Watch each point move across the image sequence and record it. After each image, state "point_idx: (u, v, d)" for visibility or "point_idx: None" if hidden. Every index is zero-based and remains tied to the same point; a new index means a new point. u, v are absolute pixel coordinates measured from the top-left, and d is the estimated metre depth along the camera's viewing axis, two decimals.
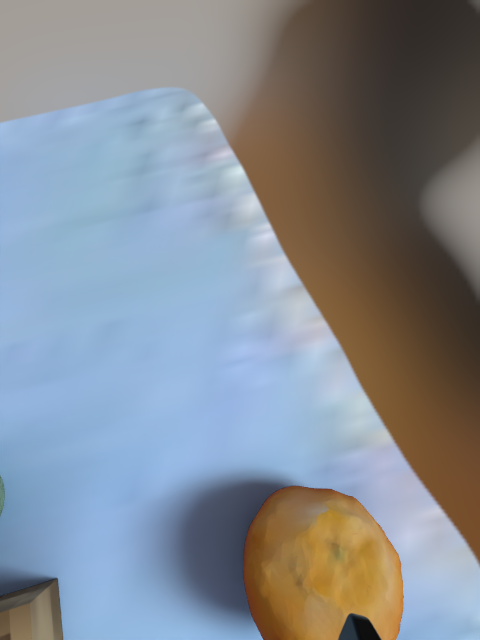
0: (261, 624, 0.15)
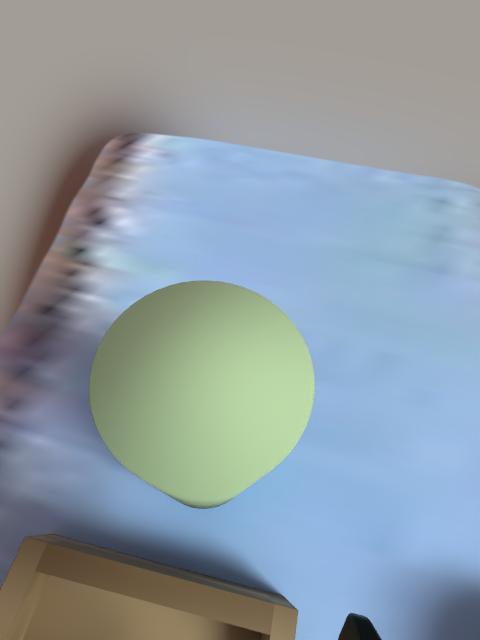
0: None
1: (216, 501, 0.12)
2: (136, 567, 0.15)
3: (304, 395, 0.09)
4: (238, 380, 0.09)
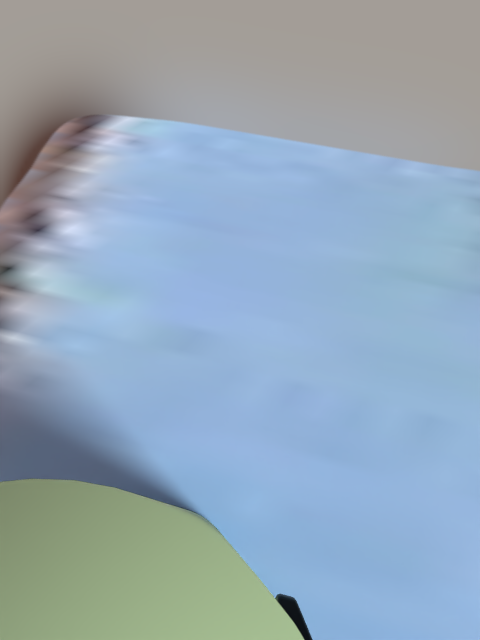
0: None
1: None
2: None
3: None
4: None
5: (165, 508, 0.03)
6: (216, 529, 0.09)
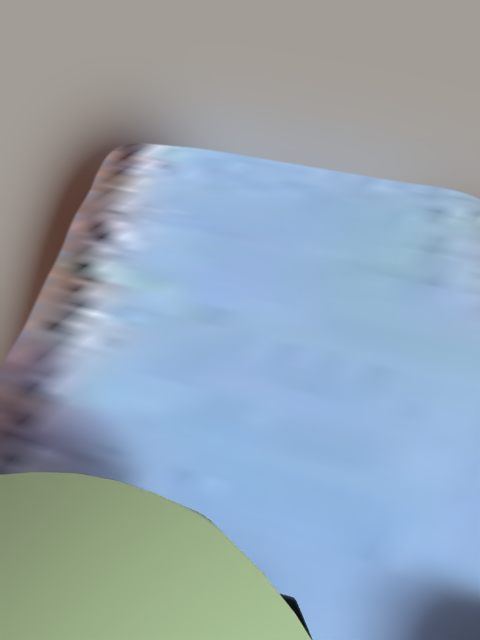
0: None
1: None
2: None
3: None
4: None
5: (167, 501, 0.03)
6: (216, 527, 0.09)
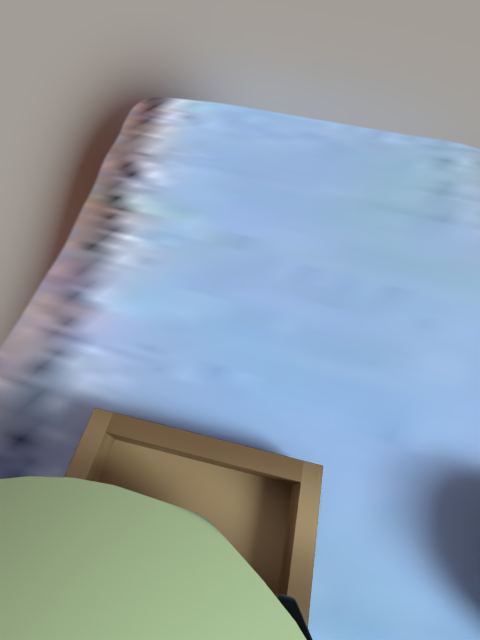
0: None
1: None
2: (188, 432, 0.17)
3: None
4: None
5: (165, 506, 0.03)
6: None
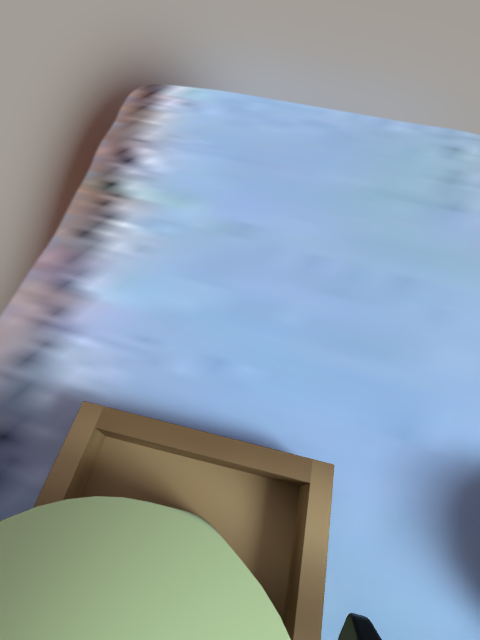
0: None
1: None
2: (185, 427, 0.16)
3: None
4: None
5: (181, 515, 0.05)
6: None
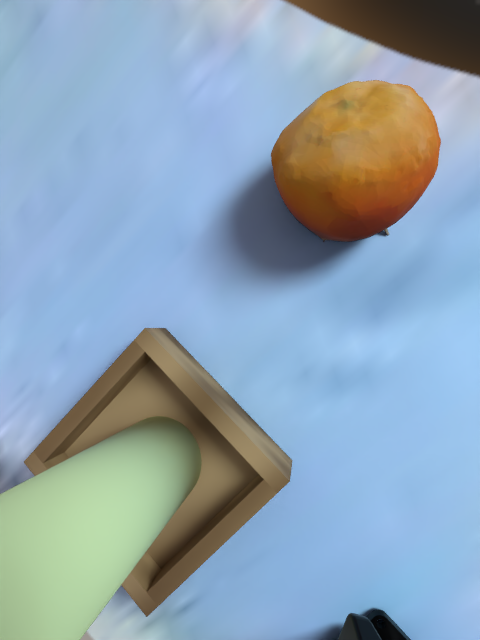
0: (312, 207, 0.17)
1: (134, 563, 0.14)
2: (72, 408, 0.21)
3: (16, 572, 0.09)
4: None
5: None
6: (95, 445, 0.17)
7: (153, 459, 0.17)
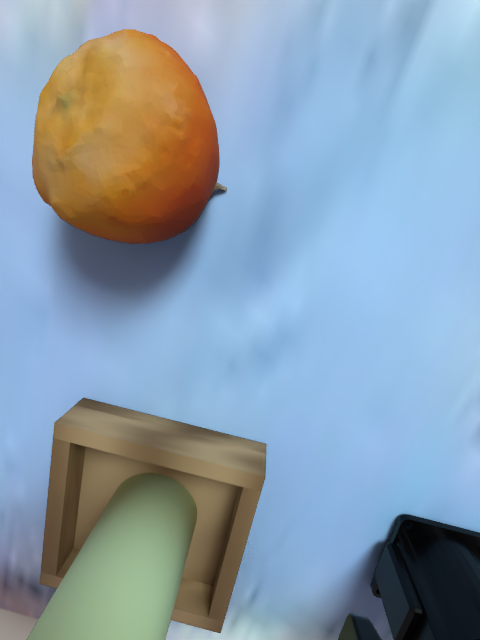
0: (112, 233, 0.14)
1: None
2: (46, 522, 0.21)
3: None
4: None
5: None
6: (70, 567, 0.17)
7: (128, 548, 0.17)
